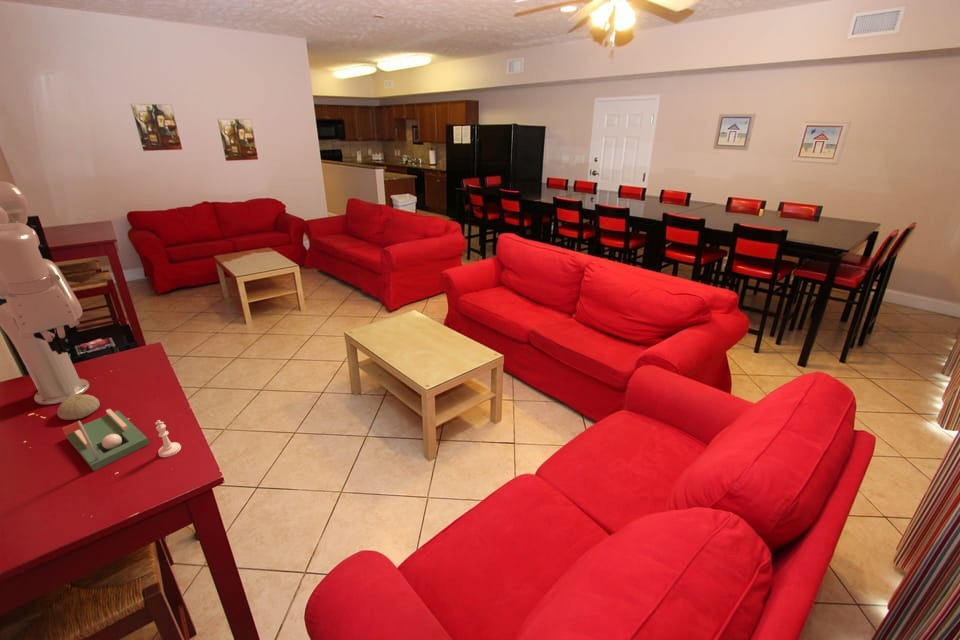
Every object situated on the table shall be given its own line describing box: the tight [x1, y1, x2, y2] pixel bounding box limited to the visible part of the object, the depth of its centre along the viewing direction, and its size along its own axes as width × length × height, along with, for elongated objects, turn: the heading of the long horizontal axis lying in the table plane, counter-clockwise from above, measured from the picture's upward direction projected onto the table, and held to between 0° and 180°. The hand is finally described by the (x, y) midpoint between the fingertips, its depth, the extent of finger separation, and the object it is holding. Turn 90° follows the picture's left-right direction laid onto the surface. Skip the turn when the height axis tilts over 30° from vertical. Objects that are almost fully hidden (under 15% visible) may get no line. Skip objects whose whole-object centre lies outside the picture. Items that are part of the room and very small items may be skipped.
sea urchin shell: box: [56, 393, 100, 421], centre depth 124 cm, size 9×8×8 cm
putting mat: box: [61, 408, 150, 472], centre depth 110 cm, size 20×14×14 cm
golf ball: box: [102, 434, 122, 450], centre depth 111 cm, size 4×4×4 cm
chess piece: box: [154, 419, 182, 458], centre depth 109 cm, size 5×5×10 cm
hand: (61, 351), depth 107 cm, fingers closed
